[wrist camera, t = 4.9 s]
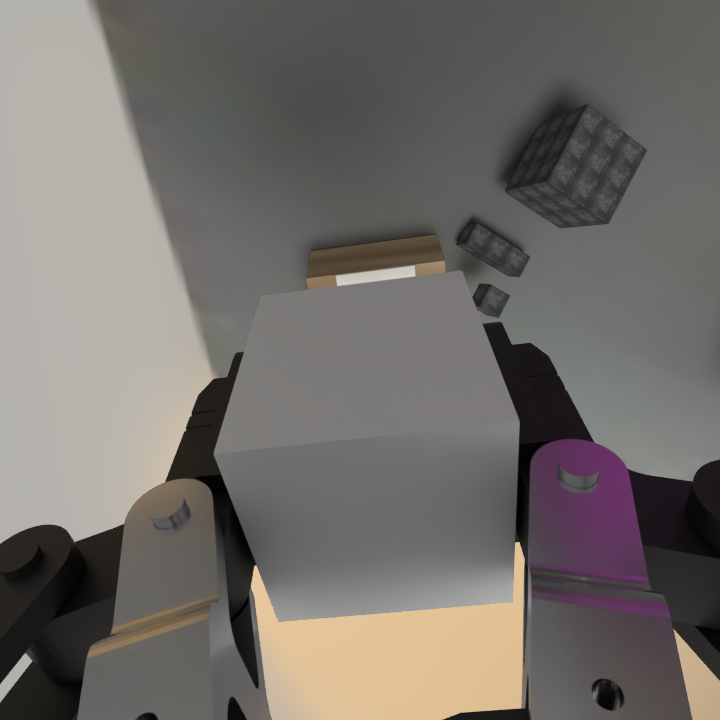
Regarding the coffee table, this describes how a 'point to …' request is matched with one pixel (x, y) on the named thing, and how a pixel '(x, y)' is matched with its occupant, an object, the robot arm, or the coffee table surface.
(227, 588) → the robot arm
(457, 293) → the grey block
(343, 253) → the frame
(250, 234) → the coffee table surface
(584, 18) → the coffee table surface
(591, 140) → the building blocks
